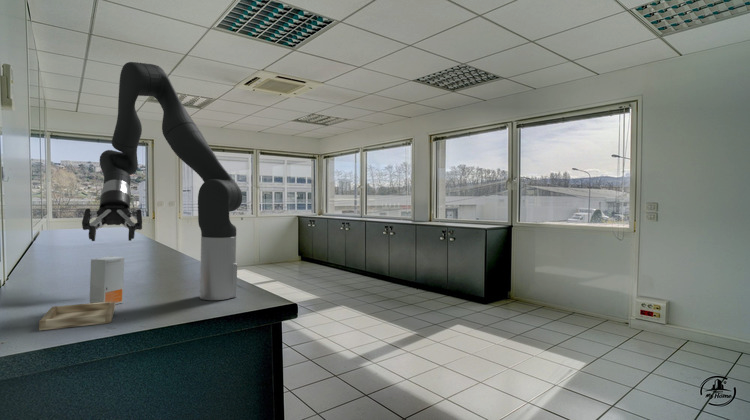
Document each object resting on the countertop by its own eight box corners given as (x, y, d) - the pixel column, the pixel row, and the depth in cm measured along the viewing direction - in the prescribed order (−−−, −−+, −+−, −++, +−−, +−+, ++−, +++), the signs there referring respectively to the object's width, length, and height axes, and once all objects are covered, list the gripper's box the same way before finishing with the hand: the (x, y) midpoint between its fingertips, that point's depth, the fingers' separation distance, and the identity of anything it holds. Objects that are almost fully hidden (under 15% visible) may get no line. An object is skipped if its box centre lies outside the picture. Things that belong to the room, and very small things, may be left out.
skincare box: (103, 308, 94) (104, 260, 94) (88, 307, 95) (89, 259, 95) (124, 302, 100) (125, 256, 100) (110, 301, 101) (111, 256, 101)
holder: (114, 309, 94) (115, 301, 94) (110, 322, 84) (110, 314, 84) (51, 314, 88) (52, 306, 88) (39, 330, 78) (39, 321, 78)
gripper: (85, 187, 111) (78, 230, 101) (143, 190, 118) (141, 230, 109) (87, 205, 116) (81, 248, 106) (143, 207, 123) (141, 246, 113)
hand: (111, 239), depth 107 cm, fingers open, 8 cm apart
